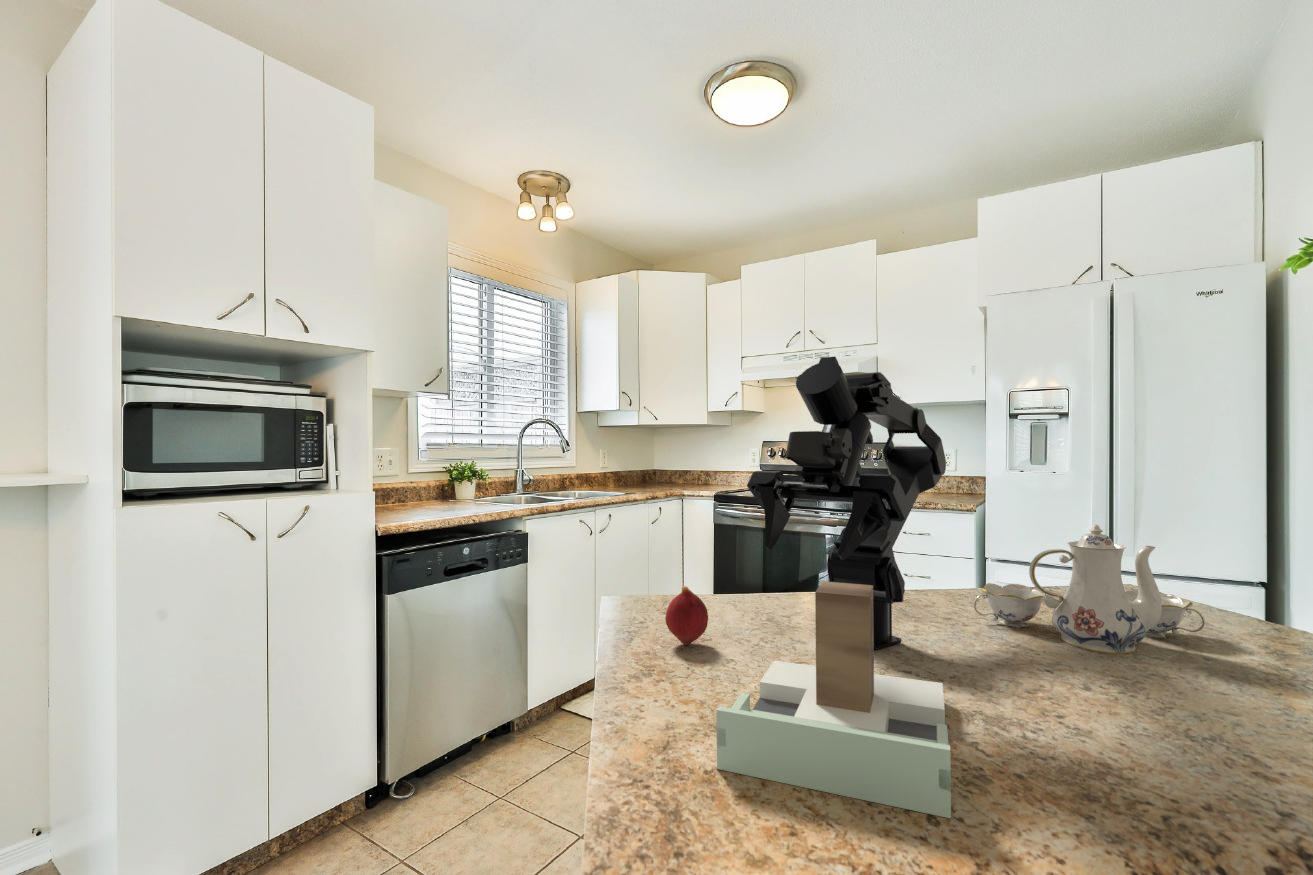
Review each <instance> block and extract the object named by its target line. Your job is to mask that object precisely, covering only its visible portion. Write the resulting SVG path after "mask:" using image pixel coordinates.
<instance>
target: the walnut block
mask: <svg viewBox="0 0 1313 875" xmlns="http://www.w3.org/2000/svg"><path fill="white" fill-rule="evenodd" d="M814 594H815V597H814V598H815V601H814V602H815V605H814V606H815V666H816V705H822V706H829V707H835V708H841V709H848V710H854V711H860V712H866V713H870V711H871V706H872V701H873V696H874V674H875V666H874V664H875V662H874V661H875V660H874V659H875V654H874V653H875V652H874V651H875V650H874V630H873V585H862V584H850V583H838V582H830V581H824V580H823V581H822V582H821V583H820V584H819V586H818V588H817V589H816V590H815V593H814Z"/></svg>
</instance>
